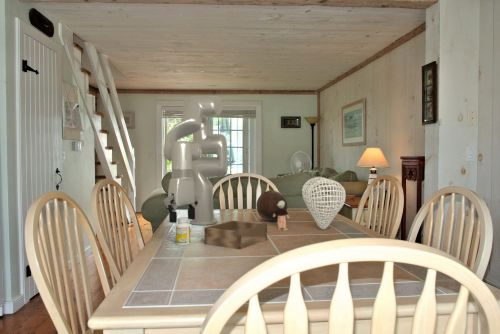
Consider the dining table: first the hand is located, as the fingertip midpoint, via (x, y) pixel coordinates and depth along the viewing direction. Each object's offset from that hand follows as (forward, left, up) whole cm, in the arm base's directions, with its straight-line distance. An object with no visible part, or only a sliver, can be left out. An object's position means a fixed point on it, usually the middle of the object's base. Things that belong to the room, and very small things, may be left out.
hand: (182, 220), depth 148 cm
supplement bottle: (0, 0, -9) cm, 9 cm away
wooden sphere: (+3, +59, -9) cm, 60 cm away
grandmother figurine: (+18, +42, -9) cm, 47 cm away
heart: (+33, +52, -9) cm, 62 cm away
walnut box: (+15, +13, -9) cm, 22 cm away
